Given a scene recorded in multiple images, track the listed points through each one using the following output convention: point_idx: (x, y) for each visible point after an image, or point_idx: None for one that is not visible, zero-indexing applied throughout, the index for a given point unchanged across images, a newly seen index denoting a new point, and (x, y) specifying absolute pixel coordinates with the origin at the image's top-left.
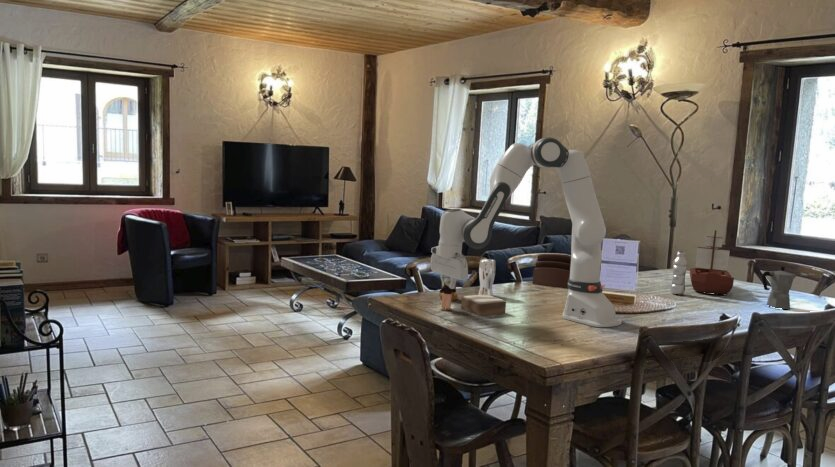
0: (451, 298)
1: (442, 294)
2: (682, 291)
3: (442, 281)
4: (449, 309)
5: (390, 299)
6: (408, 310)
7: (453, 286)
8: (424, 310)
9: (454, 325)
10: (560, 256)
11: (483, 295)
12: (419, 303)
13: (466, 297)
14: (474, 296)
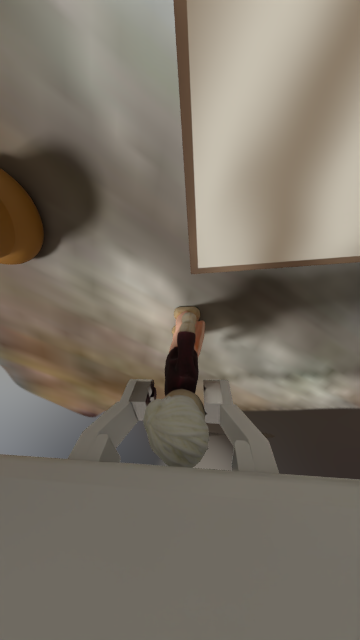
0: (38, 226)
1: (8, 261)
2: None
3: (133, 421)
4: (198, 318)
5: (53, 391)
6: None
7: (229, 395)
8: None
9: (355, 386)
10: None
11: (228, 38)
12: (95, 354)
13: (227, 265)
14: (229, 187)
